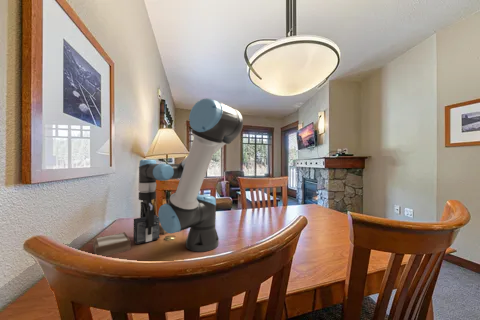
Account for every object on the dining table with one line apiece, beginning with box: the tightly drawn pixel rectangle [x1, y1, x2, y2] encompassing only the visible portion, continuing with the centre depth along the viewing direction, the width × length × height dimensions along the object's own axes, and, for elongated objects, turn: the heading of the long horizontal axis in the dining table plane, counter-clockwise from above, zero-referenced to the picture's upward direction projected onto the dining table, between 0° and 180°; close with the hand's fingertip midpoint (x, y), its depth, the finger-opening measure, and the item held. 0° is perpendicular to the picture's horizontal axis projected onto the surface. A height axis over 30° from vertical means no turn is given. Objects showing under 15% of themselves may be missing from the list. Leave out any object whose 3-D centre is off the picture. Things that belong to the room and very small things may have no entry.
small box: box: [132, 214, 161, 245], centre depth 92 cm, size 11×6×10 cm, turn 130°
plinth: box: [92, 232, 132, 257], centre depth 83 cm, size 12×12×4 cm
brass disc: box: [164, 234, 177, 242], centre depth 95 cm, size 5×5×1 cm
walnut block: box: [159, 224, 169, 236], centre depth 103 cm, size 5×5×4 cm
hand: (146, 238), depth 92 cm, fingers closed on small box, 6 cm apart
